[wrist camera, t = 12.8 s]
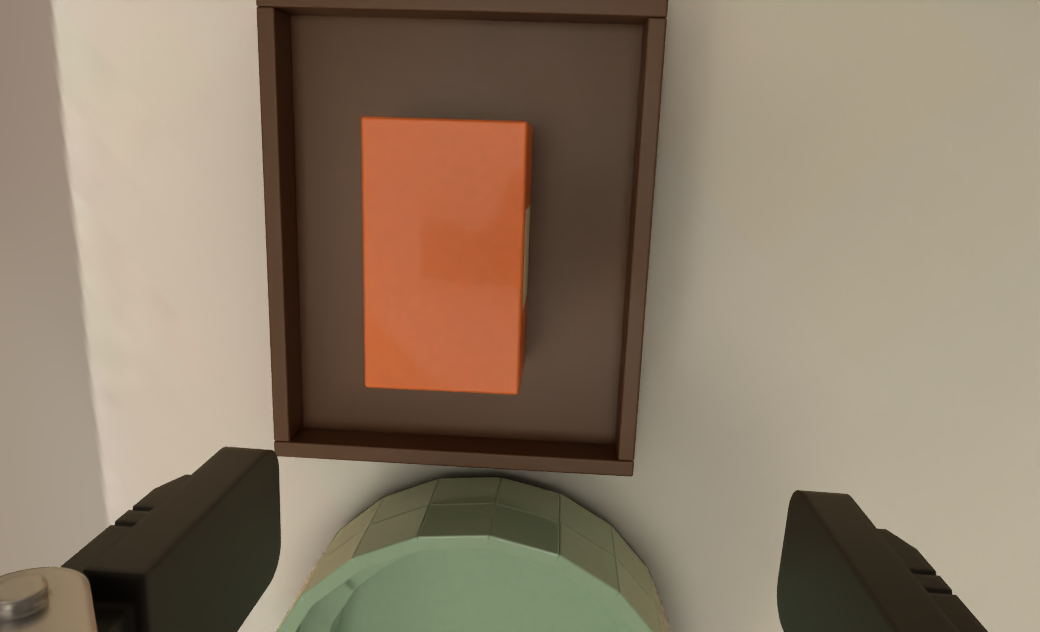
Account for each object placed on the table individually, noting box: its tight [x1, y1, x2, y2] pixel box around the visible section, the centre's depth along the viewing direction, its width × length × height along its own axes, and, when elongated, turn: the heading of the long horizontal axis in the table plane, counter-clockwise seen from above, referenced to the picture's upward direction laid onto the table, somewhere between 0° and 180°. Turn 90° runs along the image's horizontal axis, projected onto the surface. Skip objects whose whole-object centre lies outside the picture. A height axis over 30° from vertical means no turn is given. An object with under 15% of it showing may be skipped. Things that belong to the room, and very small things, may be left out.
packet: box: [361, 116, 533, 395], centre depth 25 cm, size 8×5×4 cm, turn 178°
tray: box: [256, 0, 668, 476], centre depth 26 cm, size 16×13×2 cm
